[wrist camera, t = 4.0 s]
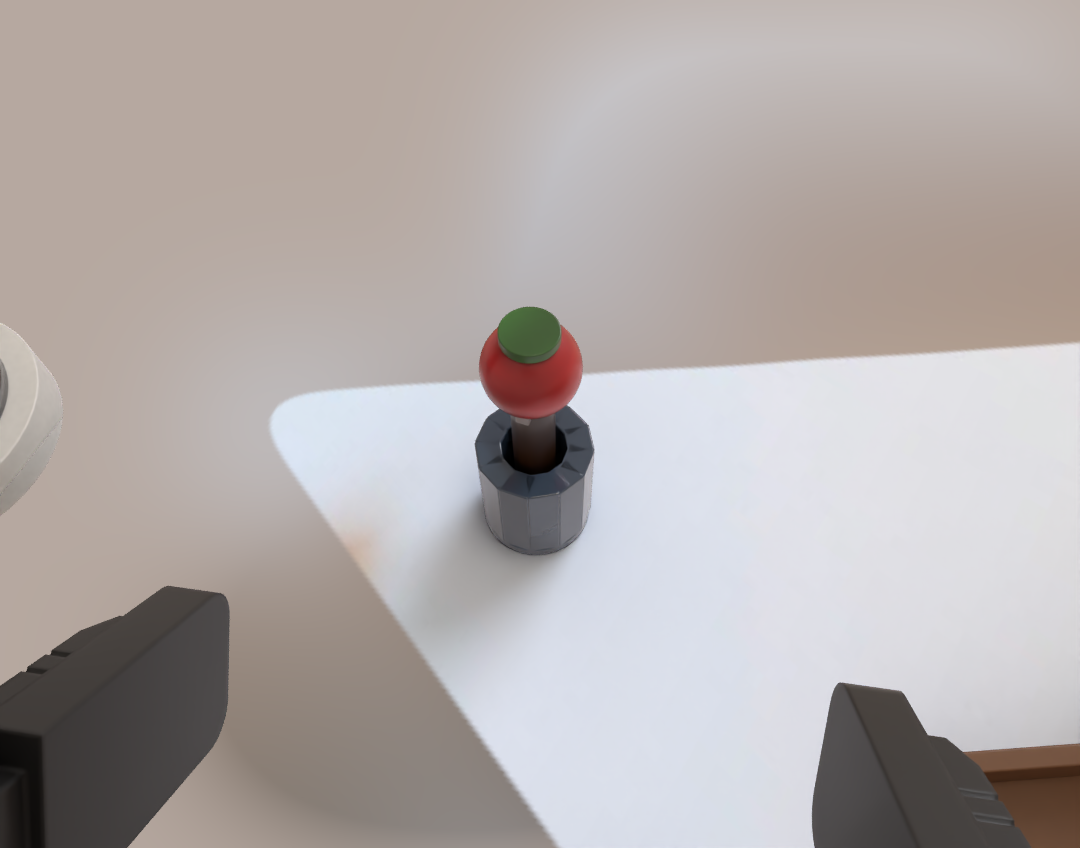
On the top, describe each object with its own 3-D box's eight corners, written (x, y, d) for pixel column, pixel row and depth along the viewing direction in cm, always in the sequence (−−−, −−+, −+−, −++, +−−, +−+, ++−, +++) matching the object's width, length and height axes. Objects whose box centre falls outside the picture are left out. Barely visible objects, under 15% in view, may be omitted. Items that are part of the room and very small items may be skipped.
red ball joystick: (483, 523, 36) (457, 356, 26) (513, 457, 38) (498, 278, 28) (560, 549, 35) (562, 388, 26) (588, 480, 37) (598, 305, 27)
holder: (468, 535, 36) (457, 476, 32) (507, 450, 38) (501, 384, 34) (568, 569, 35) (569, 512, 31) (602, 480, 38) (608, 416, 33)
